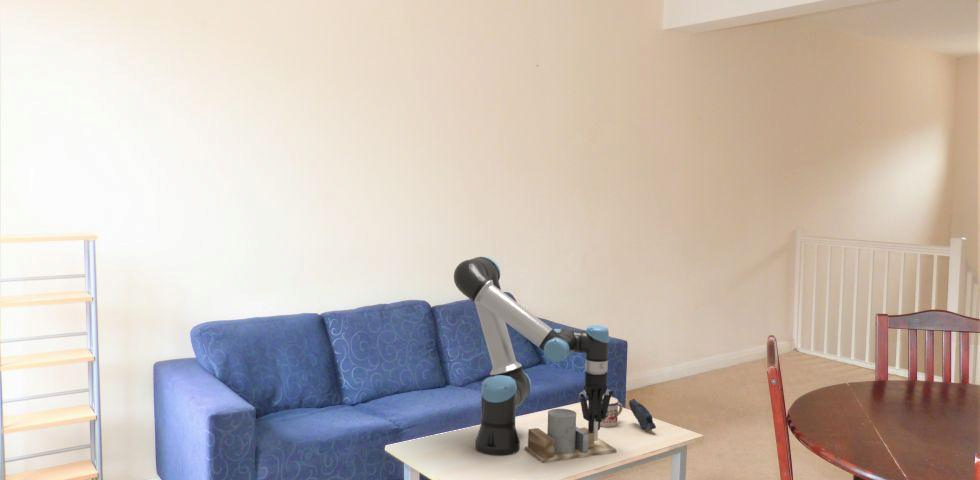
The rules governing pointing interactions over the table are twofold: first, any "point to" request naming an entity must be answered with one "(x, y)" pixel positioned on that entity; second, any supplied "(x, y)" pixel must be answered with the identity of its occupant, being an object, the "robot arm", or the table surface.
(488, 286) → the robot arm
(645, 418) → the stone
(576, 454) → the press
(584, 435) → the slide jaw
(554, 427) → the gray cylinder
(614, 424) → the teacup with lid
